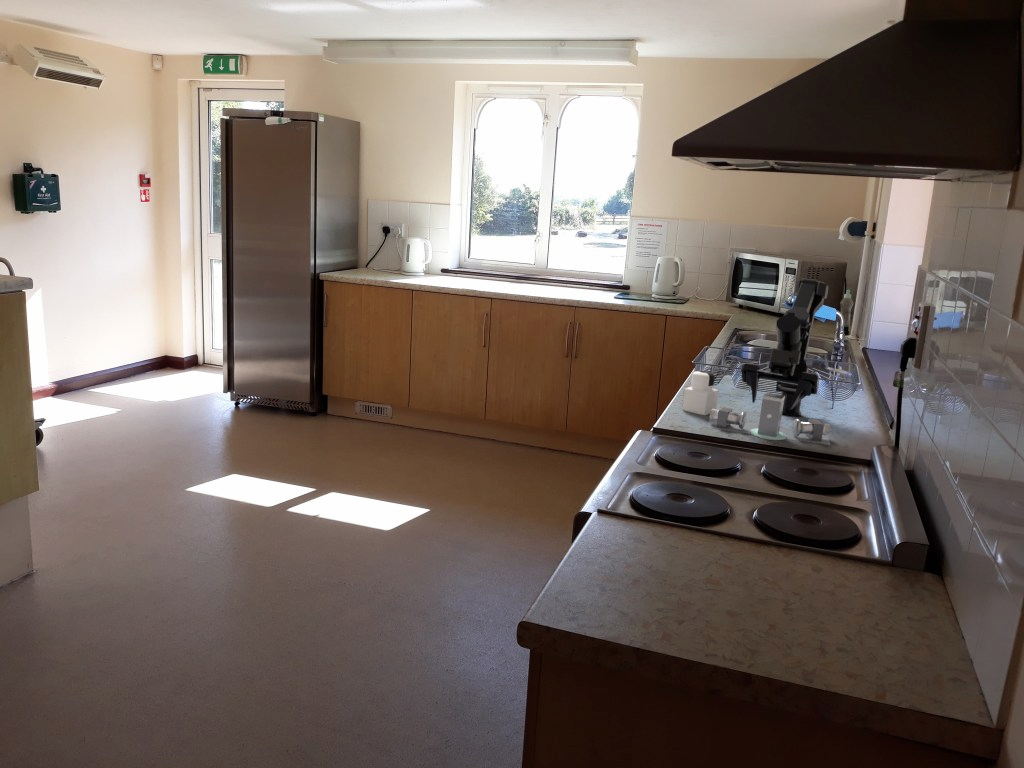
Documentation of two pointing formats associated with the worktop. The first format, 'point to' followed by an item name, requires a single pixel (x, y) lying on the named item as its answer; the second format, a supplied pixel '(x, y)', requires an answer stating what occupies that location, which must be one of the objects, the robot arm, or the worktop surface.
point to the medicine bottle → (700, 394)
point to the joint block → (771, 414)
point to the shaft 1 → (727, 418)
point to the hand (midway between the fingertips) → (771, 405)
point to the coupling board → (783, 434)
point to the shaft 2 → (811, 429)
